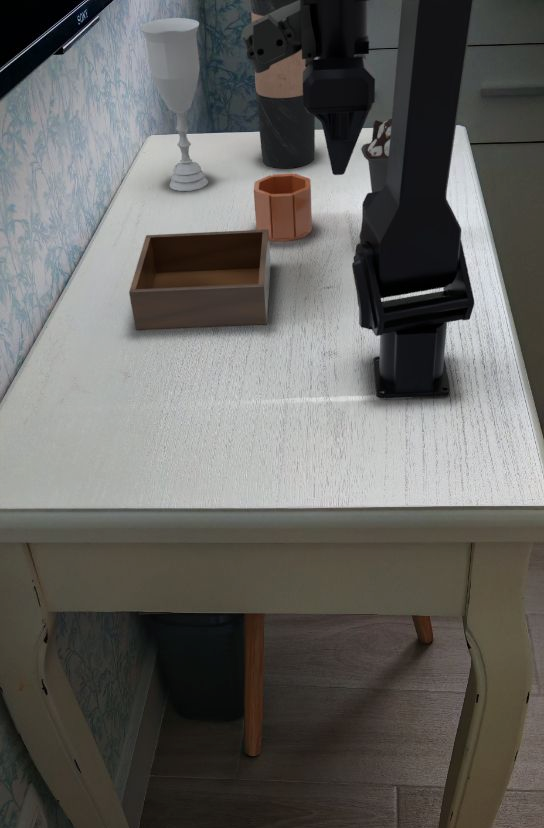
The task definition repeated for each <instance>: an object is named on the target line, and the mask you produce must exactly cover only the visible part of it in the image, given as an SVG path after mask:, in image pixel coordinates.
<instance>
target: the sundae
mask: <svg viewBox="0 0 544 828" xmlns="http://www.w3.org/2000/svg"><path fill="white" fill-rule="evenodd" d="M391 124H392V118H389V119H387V120H384V122H383V121H380V120H376V119H375V120H374V121H373V124H372V125H373V126H372V137H371V141H370V142H368V143H365V144H363V145H362V146H361V149H360V150H361V153H362V155H363V157H364V158H365V160H367V162H368V168H369V170H368V171H369V178H370V179H369V180H370V189H371V193H372V192H378V191H381V190H382V189H383V187H384V186H385V184H386V180H387V171H388V159H389V147H390V135H391Z"/></svg>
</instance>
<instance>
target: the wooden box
mask: <svg viewBox="0 0 544 828" xmlns="http://www.w3.org/2000/svg"><path fill="white" fill-rule="evenodd" d="M270 250H271V249H270V240H269V231H268V229H266V230H256V229H248V230H247V229H246V230H227V231H207V232H206V231H205V232H187V233H183V232H182V233H163V234H146V235H145V237H144V241H143V244H142V248H141V251H140V253H139V258H138V261H137V264H136V267H135V271H134V274H133V276H132V281H131V285H130V287H129V291H128V294H129V300H130V304H131V310H132V316H133V323H134V328H135V331H152V330H174V329H176V330H178V329H180V330H181V329H201V328H202V329H203V328H226V327H249V326H250V327H251V326H267V325H268V311H269V298H270V297H269V295H270V285H271V284H270V282H271V265H272V264H271V251H270Z"/></svg>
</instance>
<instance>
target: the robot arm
mask: <svg viewBox="0 0 544 828" xmlns="http://www.w3.org/2000/svg"><path fill="white" fill-rule="evenodd" d="M369 1H370V0H298V1H296V2H294V3H291V4H289V5H286V6H284V7H282V8H280V9H278V10H276V11H274V12H272V13H270V14H267V15H266V16H264V17H261V18H259V19H257V20H255V21H253V22H252V21H251V22H250V23H248V24H247V25H245V26H244V28H243V30H242V33H241V40H242V42H243V45H244V48H245V49H246V57H247V59H249V60H250V62H251V65H252V67H253V70H254V73H255V72H256V73H261V72H264V71H266V70H268V69H269V68H270V66H271V65H273V64H275V63H277V62H279V61H281V60H283V59H286V58H288V57H290V56H292V55H294V54H296V53H297V52H299V51H300V50H301V49H302V59H305V67H306V68H305V70H304V71H303V107H305V109H306V111H307V112H308V113H310V114H313V115H314V116H315V119H317V120H318V121H319V122H320V123H321V127H322V130H323V134H324V135H323V136H324V139H325V140H324V141H325V144H326V149H327V154H328V158H329V163H330V167H331V172H332V175H333V176H343V175H344V174H345V173H346V170H347V168H348V166H349V162H350V160H351V157H352V155H353V152H354V150H355V147H356V145H357V141H358V140H359V137H360V135H361V133H362V130H363V128H364V125H365V123H366V121H367V119H368V115H369V113H370V112H371V110H372V109H373V105H374V103H375V102H376V101H375V99H376V97H375V96H376V95H375V94H376V77H375V71H374V67H373V66H372V65H371V64H370V62H368V61H367V57H366V55H369V54H370V39H369ZM474 3H475V0H401V7H400V19H399V32H398V44H397V52H396V53H397V54H396V66H395V76H394V77H395V79H394V87H393V88H394V90H393V102H392V112H391V119H392V124H391V135H390V147H389V159H388V171H387V180H386V184H385V186H384V187H383V189H382V190H381V191H378V192H372V191H371V192H368V193H366V195H365V197H364V198H363V199H364V200H363V201H362V205H361V207H362V209H361V211H362V212H361V213H362V214H361V228H360V232H359V240H360V242H359V243H357V244H356V247H355V250H354V256H353V262H352V263H351V269H352V274H353V280H354V285H355V292H356V297H357V299H356V301H357V306H358V325H359V326H360V328H361V329H367V330H368V331H370V330H371V331H372V333H373V334H374V336H375V337H378V336H379V356H374V357H373V358H372V365H373V374H374V375H373V376H374V385H375V394H376V395H375V396H376V398H378V399H405V398H406V399H407V398H434V397H435V398H436V397H438V398H439V397H448V396H450V394H451V384H450V380H449V375H448V371H447V365H446V360H445V352H446V340H447V328H448V323H452V322H457V321H468V320H470V319H471V316H472V313H473V310H474V306H475V298H474V293H473V288H472V284H471V278H470V275H469V270H468V266H467V261H466V257H465V251H464V247H463V243H462V227H461V226H460V223H459V221H458V219H457V217H456V215H455V213H454V211H453V209H452V208H451V205H450V203H449V201H448V199H447V192H448V185H449V178H450V171H451V165H452V159H453V150H454V143H455V138H456V137H455V135H456V130H457V129H456V128H457V123H458V114H459V108H460V103H461V95H462V88H463V87H462V86H463V80H464V73H465V65H466V58H467V51H468V46H469V38H470V31H471V30H470V29H471V25H472V24H471V22H472V16H473V9H474ZM436 289H443V290H440V291H435V292H429V293H424V294H417V295H412V296H407V297H400V298H394V299H389V300H382V299H384V298H391V297H397V296H403V295H408V294H414V293H420V292H426V291H431V290H432V291H433V290H436Z"/></svg>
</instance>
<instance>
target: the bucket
mask: <svg viewBox="0 0 544 828" xmlns="http://www.w3.org/2000/svg"><path fill="white" fill-rule="evenodd" d="M311 184H312V181H311V178H309V177H306V176H303V175H301V174H298V173H279V174H278V173H276V174H270V175H268V176H264V177H263V178H260V179H257V180H255V181H254V184H253V200H254V213H255V228H256V229H255V230H266V229H268V231H269V242H270V241H271V242H280V243H281V242H291V241H292V242H293V241H296V240H300V239H303V238H305V237H307V236H309V235H310V234H311V232H312V230H313V224H312V223H313V220H312V219H313V214H312V185H311Z"/></svg>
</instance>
